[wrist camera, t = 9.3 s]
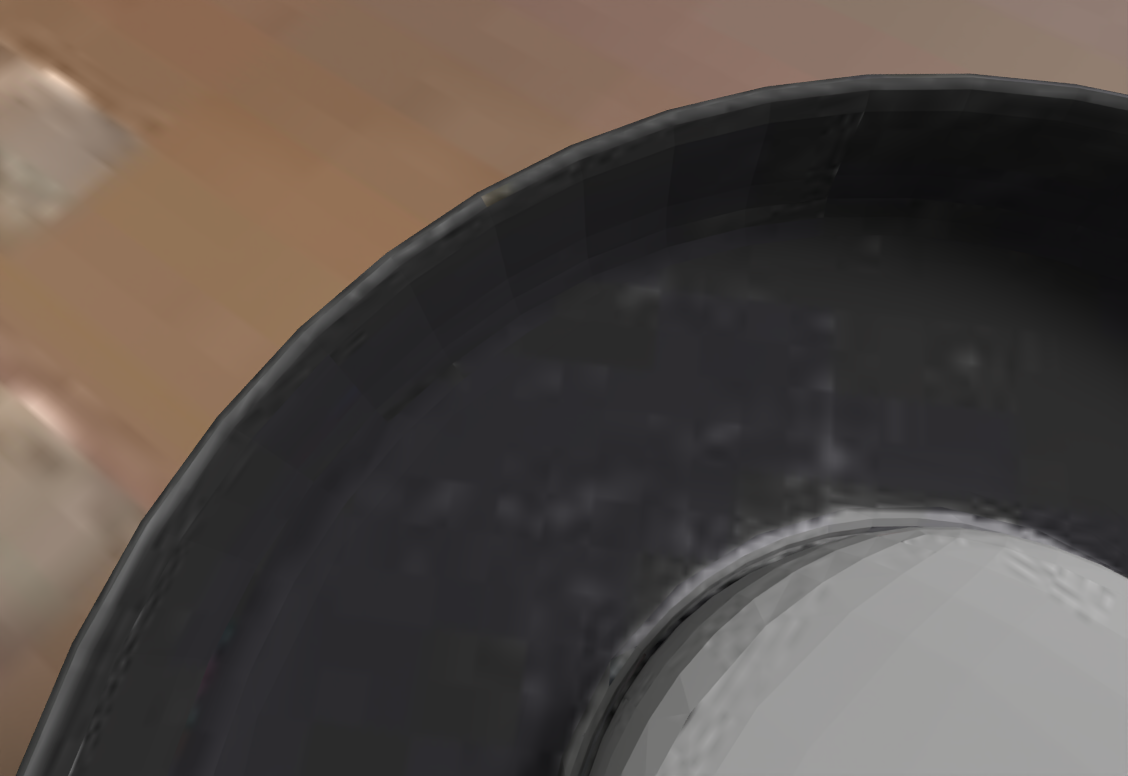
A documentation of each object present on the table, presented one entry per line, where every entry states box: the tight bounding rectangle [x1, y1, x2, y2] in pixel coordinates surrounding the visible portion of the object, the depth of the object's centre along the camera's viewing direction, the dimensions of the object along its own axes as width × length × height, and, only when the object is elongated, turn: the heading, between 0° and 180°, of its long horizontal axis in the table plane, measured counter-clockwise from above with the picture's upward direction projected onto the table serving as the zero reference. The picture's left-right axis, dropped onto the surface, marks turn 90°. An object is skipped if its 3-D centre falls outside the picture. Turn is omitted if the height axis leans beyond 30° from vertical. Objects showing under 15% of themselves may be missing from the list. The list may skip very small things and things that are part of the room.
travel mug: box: [16, 74, 1128, 776], centre depth 12 cm, size 8×8×20 cm
